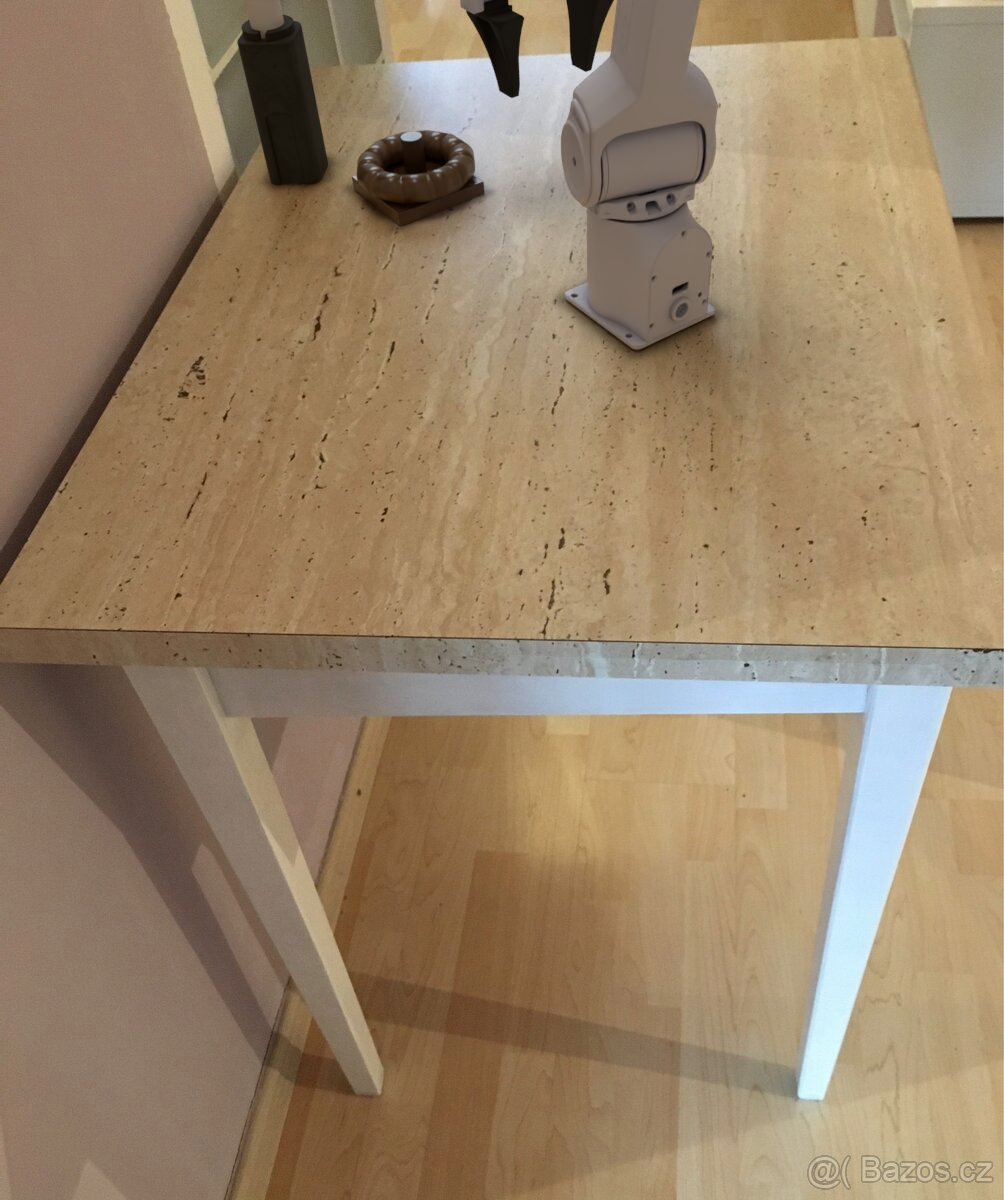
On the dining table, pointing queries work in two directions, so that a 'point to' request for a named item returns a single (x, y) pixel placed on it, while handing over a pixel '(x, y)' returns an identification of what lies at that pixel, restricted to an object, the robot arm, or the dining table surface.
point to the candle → (282, 94)
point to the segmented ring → (416, 185)
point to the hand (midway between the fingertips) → (545, 80)
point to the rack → (414, 165)
